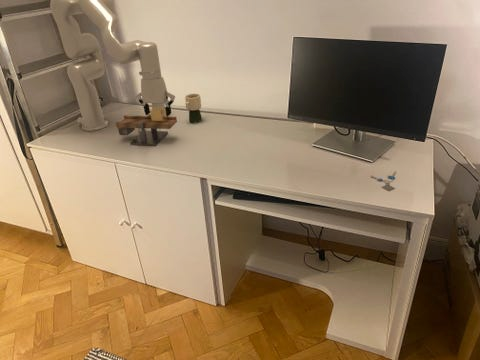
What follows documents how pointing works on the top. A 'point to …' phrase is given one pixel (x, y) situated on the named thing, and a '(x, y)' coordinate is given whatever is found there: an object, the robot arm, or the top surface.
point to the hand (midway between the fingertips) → (158, 114)
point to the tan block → (158, 115)
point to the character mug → (193, 107)
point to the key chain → (387, 186)
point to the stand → (148, 136)
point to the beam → (131, 122)
